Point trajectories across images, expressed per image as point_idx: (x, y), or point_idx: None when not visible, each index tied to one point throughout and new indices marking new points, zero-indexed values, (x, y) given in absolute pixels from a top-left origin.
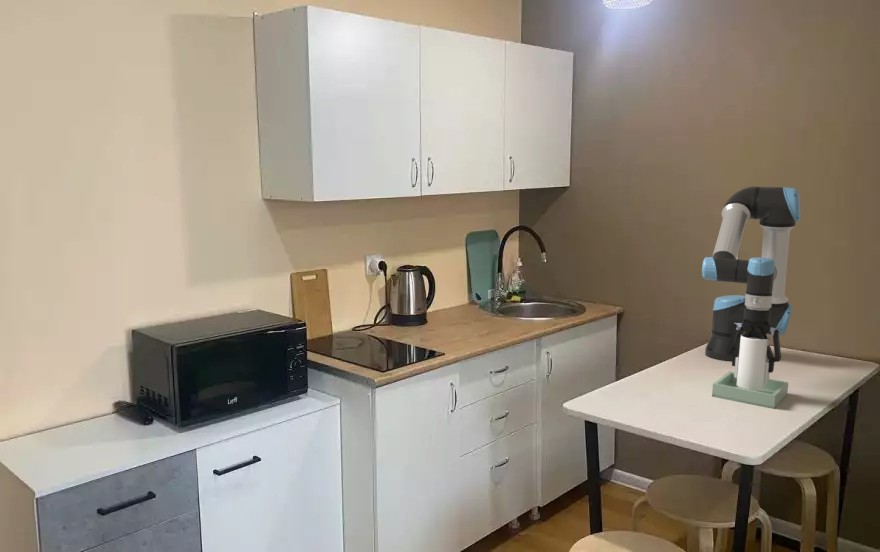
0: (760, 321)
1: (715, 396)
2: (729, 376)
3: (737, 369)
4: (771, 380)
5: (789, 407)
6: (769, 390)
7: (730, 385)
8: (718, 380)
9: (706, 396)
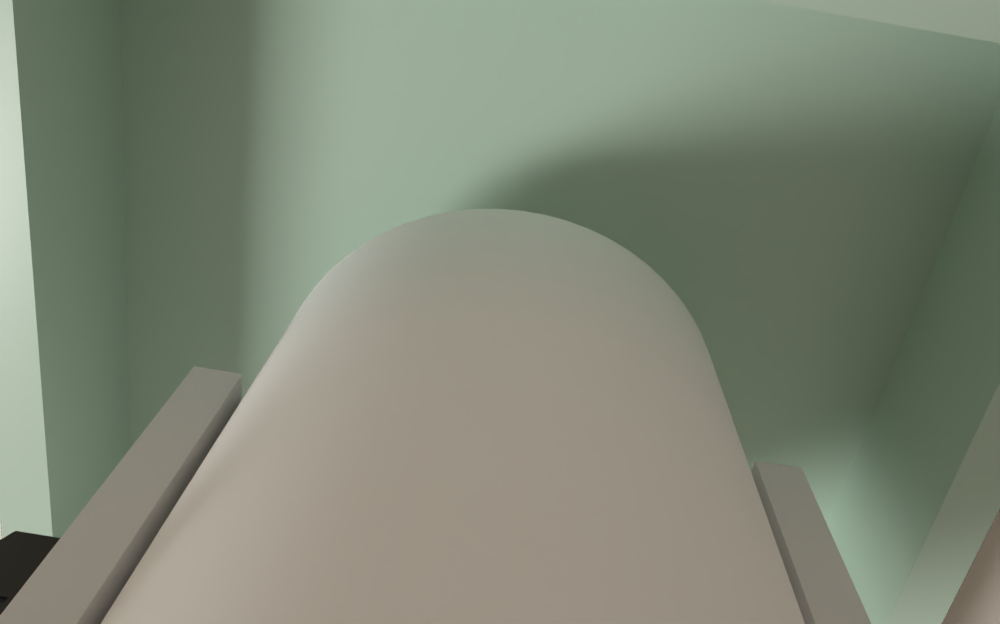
0: None
1: None
2: (40, 31)
3: None
4: (879, 18)
5: (973, 590)
6: (795, 19)
7: (160, 65)
8: None
9: None
